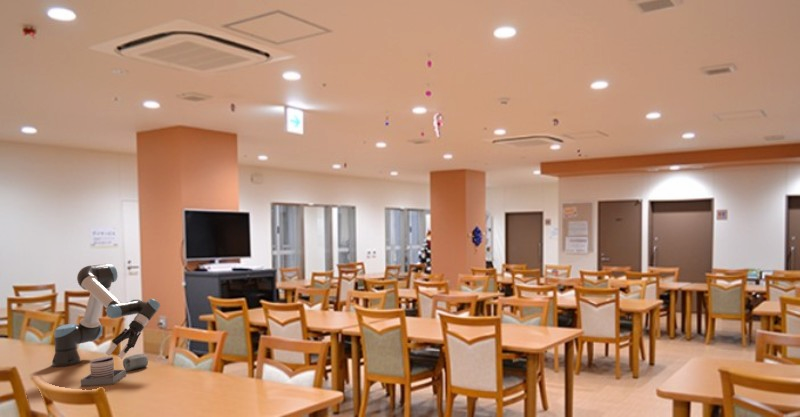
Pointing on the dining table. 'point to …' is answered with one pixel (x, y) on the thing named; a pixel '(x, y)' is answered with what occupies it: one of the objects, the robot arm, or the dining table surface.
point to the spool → (135, 362)
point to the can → (102, 367)
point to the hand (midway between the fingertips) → (113, 355)
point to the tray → (103, 379)
